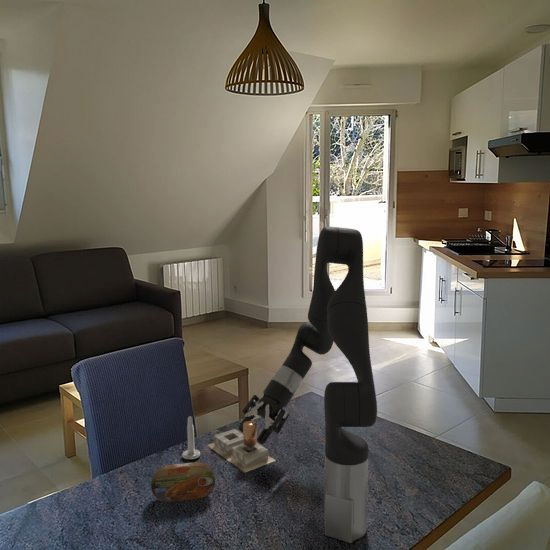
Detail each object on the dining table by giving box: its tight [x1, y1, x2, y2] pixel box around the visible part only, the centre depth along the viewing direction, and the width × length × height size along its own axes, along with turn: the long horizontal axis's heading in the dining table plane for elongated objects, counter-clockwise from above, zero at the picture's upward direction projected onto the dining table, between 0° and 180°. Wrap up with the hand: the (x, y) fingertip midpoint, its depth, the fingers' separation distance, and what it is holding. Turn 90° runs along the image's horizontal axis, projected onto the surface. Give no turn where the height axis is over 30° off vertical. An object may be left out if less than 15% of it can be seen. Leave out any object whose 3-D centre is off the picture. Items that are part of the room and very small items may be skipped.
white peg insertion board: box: [206, 428, 277, 473], centre depth 154 cm, size 19×10×4 cm, turn 38°
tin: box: [150, 461, 216, 503], centre depth 134 cm, size 15×3×8 cm, turn 99°
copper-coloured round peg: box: [242, 420, 258, 453], centre depth 150 cm, size 4×4×10 cm
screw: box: [181, 415, 201, 461], centre depth 151 cm, size 13×5×5 cm
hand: (249, 436), depth 150 cm, fingers open, 8 cm apart
